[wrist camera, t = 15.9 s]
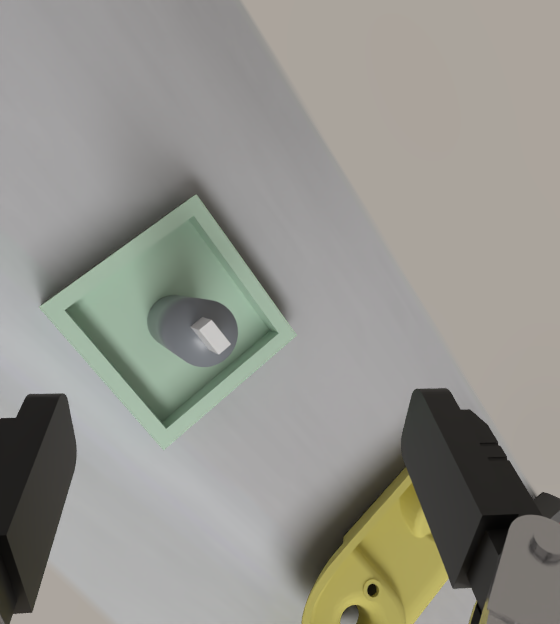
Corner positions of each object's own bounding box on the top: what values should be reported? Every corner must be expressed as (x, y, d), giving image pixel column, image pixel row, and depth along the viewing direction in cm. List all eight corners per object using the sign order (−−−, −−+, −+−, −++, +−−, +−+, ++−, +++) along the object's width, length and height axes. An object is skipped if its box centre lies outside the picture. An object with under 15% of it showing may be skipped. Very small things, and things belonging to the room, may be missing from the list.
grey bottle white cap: (136, 317, 35) (163, 332, 25) (178, 284, 36) (220, 286, 26) (169, 357, 36) (209, 388, 26) (209, 324, 37) (263, 341, 27)
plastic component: (444, 433, 44) (535, 526, 43) (411, 442, 51) (488, 522, 50) (274, 627, 38) (374, 745, 36) (261, 607, 44) (345, 705, 43)
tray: (40, 305, 34) (38, 307, 32) (187, 199, 37) (196, 194, 35) (157, 439, 37) (163, 450, 35) (283, 331, 40) (296, 335, 38)
